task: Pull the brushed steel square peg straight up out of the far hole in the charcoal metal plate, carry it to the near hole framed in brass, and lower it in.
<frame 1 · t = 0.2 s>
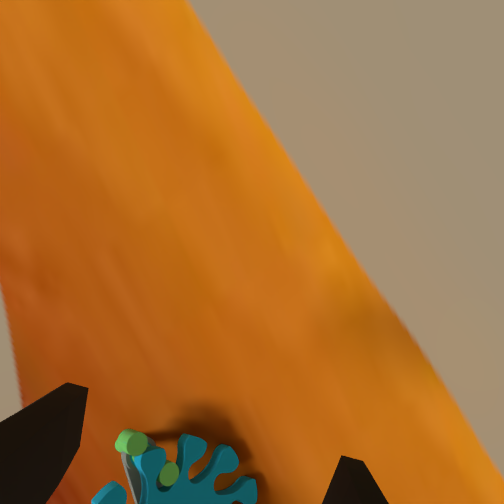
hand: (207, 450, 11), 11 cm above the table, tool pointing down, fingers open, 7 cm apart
teal lobed piece: (189, 479, 23), on the table
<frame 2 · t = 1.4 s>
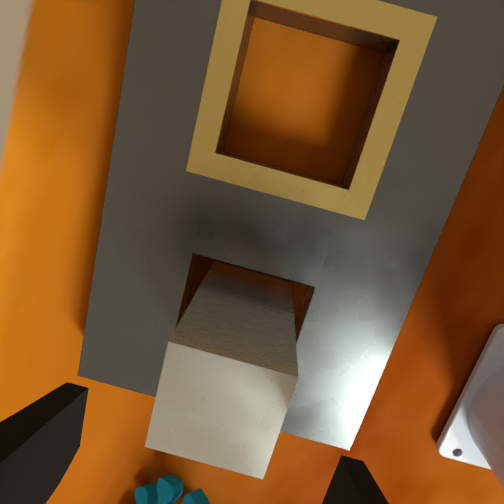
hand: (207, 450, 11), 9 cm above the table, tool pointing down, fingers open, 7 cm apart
steel peg: (242, 307, 20), resting in hole plate
hole plate: (269, 214, 18), on the table
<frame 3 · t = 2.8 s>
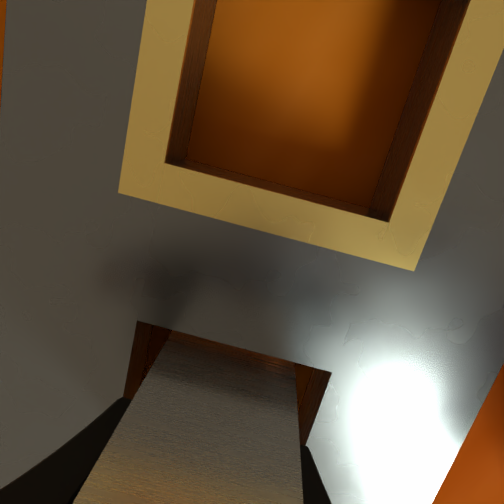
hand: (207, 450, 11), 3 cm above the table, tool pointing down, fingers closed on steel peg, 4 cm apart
steel peg: (222, 385, 13), resting in hole plate, touching gripper
hole plate: (258, 252, 12), on the table
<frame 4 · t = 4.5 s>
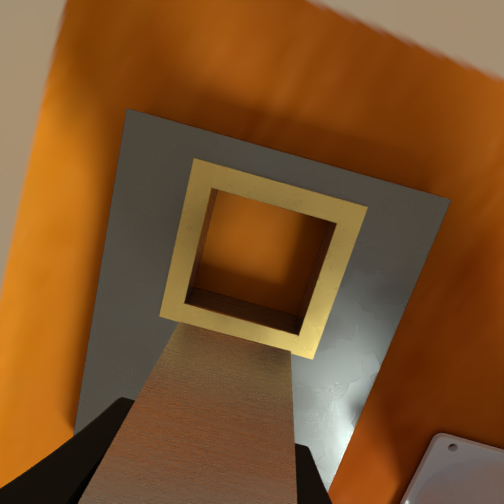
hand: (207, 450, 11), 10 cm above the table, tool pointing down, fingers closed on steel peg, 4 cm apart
steel peg: (222, 383, 14), point 7 cm above the table, touching gripper
hole plate: (235, 337, 21), on the table
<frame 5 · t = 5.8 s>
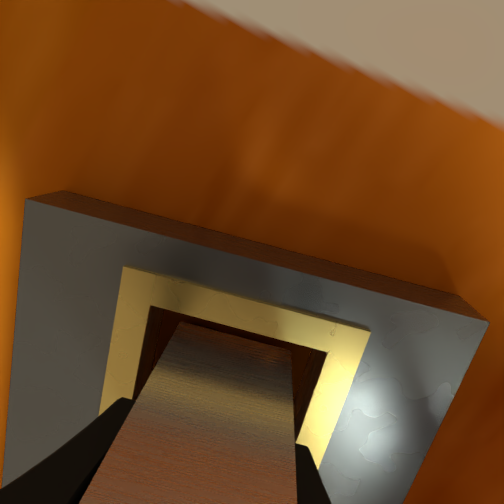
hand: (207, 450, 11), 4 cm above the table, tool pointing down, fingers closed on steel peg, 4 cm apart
steel peg: (222, 383, 14), point 1 cm above the table, touching gripper
hole plate: (200, 468, 16), on the table
when the fingers open (4 cm above the table, at t = 6.7 s): steel peg stays where it is, resting in hole plate.
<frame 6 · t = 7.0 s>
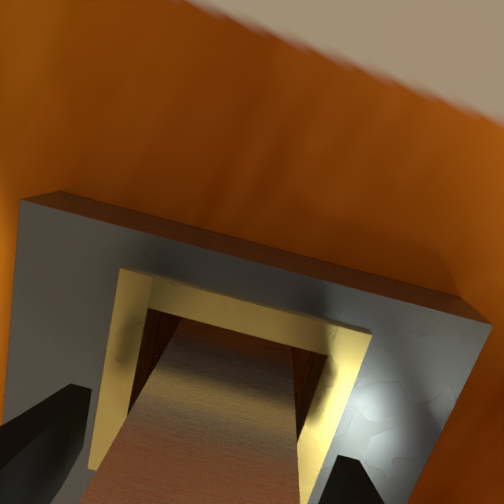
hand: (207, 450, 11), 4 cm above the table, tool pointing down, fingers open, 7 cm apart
steel peg: (225, 375, 14), resting in hole plate
hole plate: (198, 471, 16), on the table
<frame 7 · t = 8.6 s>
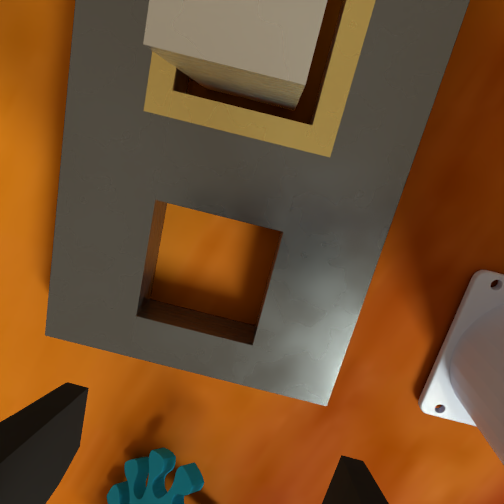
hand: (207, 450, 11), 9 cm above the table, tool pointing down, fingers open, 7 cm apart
teal lobed piece: (174, 494, 24), on the table
steel peg: (261, 50, 16), resting in hole plate
hole plate: (236, 161, 18), on the table
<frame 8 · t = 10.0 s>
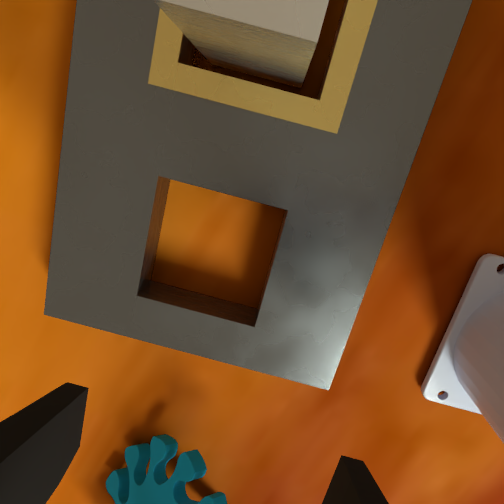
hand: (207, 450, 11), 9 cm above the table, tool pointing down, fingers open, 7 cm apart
teal lobed piece: (174, 482, 23), on the table
steel peg: (268, 25, 16), resting in hole plate
hole plate: (240, 140, 17), on the table
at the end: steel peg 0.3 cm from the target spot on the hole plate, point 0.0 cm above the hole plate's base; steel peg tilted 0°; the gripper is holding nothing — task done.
